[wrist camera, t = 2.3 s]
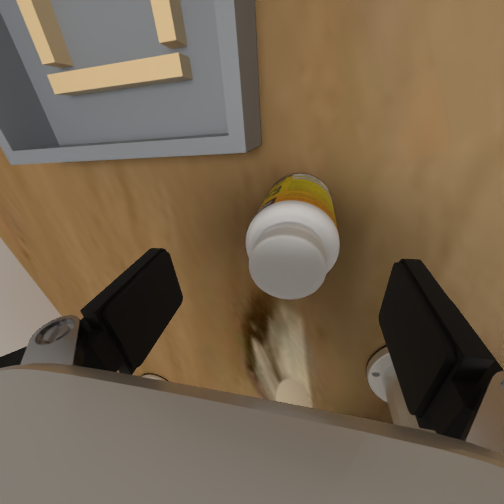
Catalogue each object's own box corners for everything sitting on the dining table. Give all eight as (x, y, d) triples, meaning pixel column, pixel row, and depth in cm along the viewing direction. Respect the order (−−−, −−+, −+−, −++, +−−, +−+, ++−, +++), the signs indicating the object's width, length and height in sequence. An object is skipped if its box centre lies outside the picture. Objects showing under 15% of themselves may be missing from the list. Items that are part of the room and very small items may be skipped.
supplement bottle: (282, 160, 19) (256, 198, 10) (345, 189, 19) (371, 251, 10) (257, 218, 22) (220, 285, 13) (311, 243, 22) (309, 326, 13)
